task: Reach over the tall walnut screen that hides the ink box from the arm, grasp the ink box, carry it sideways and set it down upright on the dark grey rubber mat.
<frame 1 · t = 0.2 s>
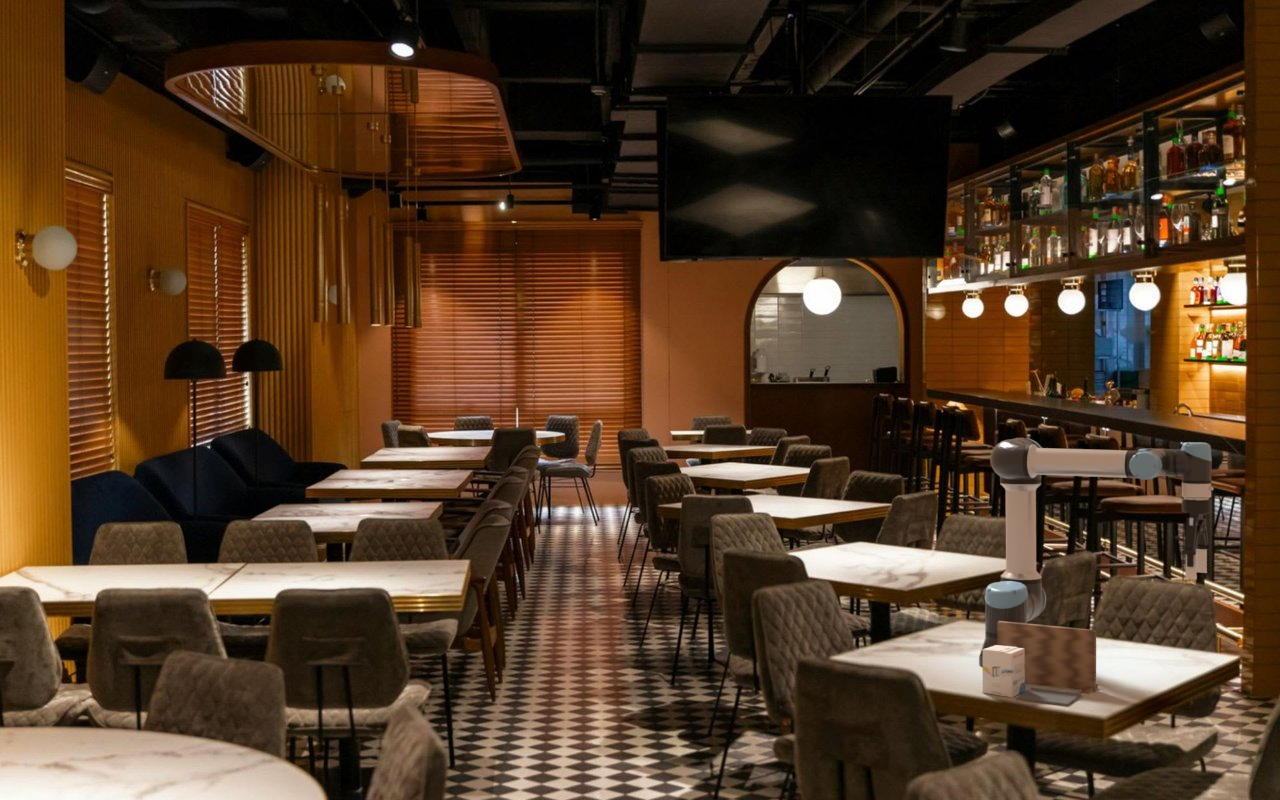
hand: (1196, 575, 379), 28 cm above the table, fingers open, 13 cm apart
walnut screen: (1045, 685, 370), on the table
ink box: (1003, 693, 362), on the table
rubber mat: (1049, 697, 356), on the table
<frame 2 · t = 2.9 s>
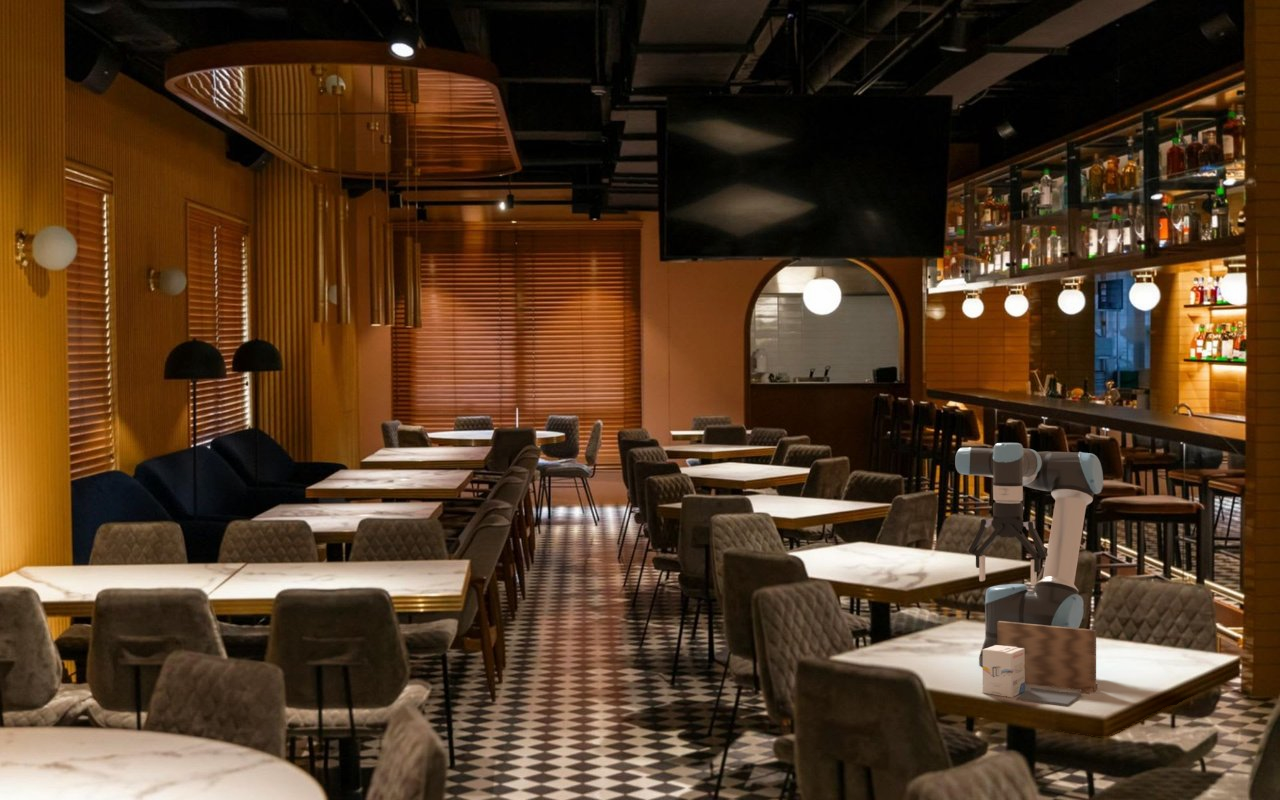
hand: (1007, 582, 362), 29 cm above the table, fingers open, 13 cm apart
nothing on the table moved.
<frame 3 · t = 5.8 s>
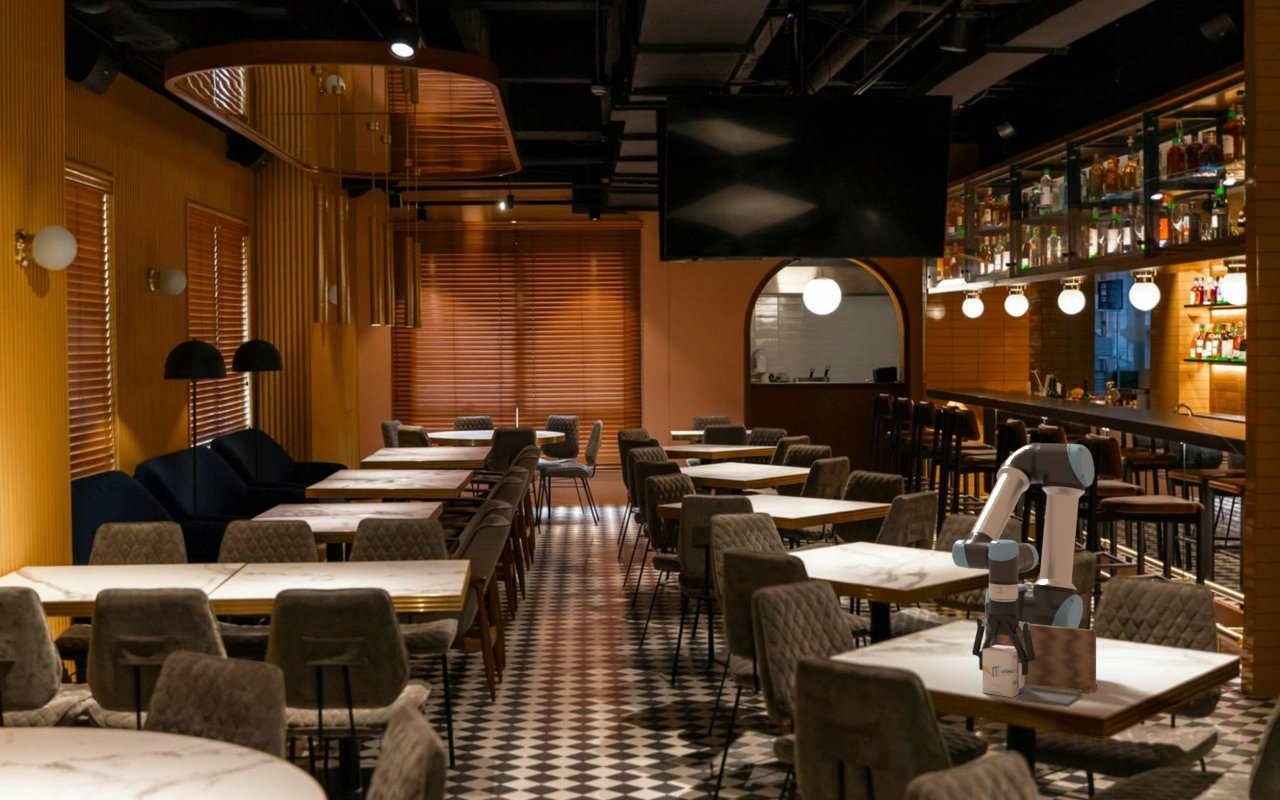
hand: (1003, 684, 362), 2 cm above the table, fingers closed on ink box, 9 cm apart
ink box: (1003, 693, 362), on the table, touching gripper
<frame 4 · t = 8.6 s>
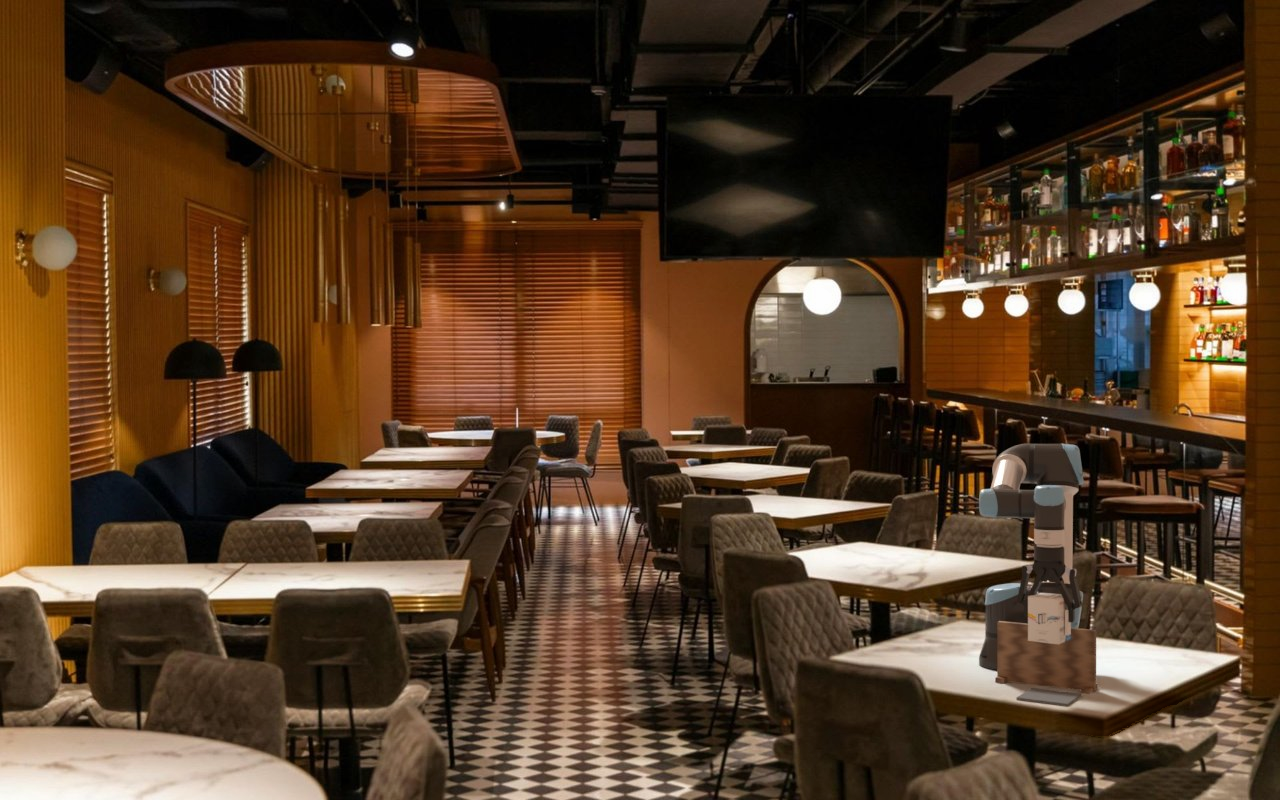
hand: (1049, 632, 355), 17 cm above the table, fingers closed on ink box, 9 cm apart
ink box: (1049, 641, 355), point 15 cm above the table, touching gripper
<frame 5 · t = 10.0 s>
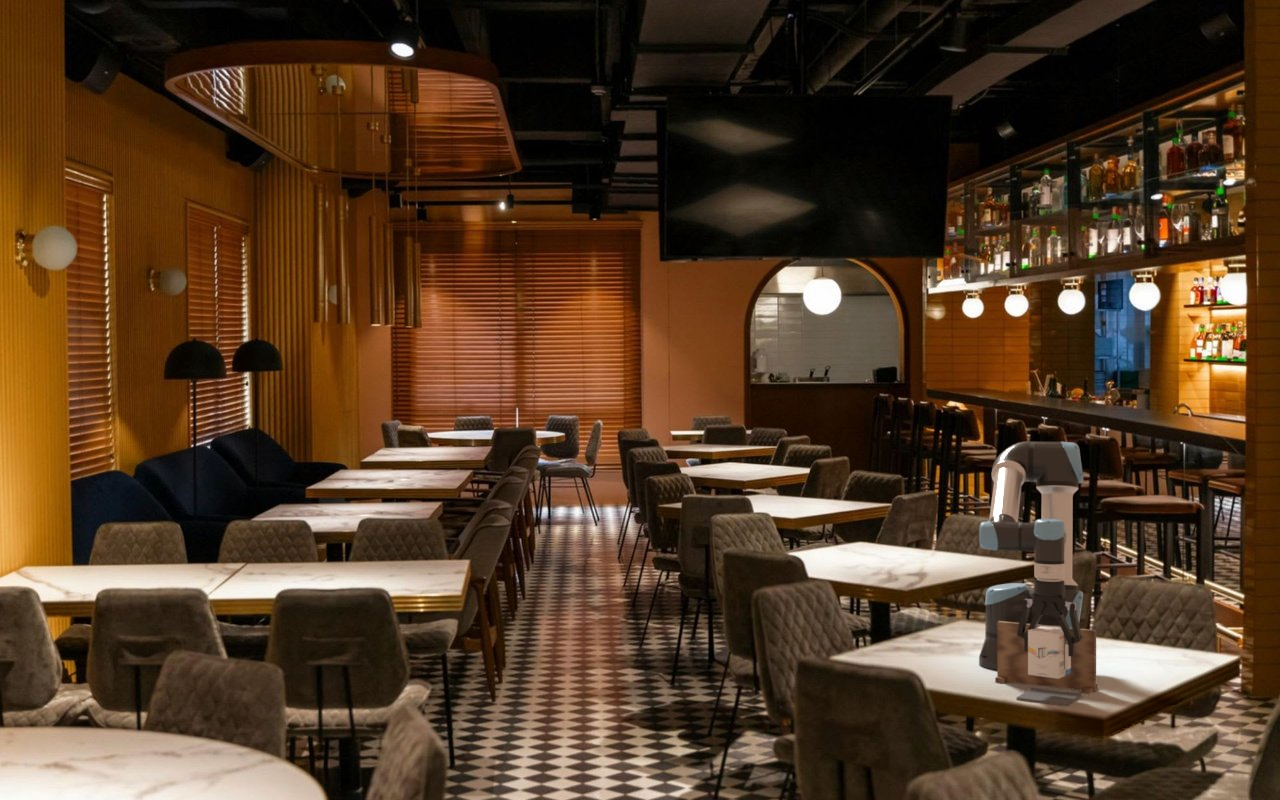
hand: (1049, 666, 355), 8 cm above the table, fingers closed on ink box, 9 cm apart
ink box: (1049, 675, 355), point 6 cm above the table, touching gripper
when the fingers open (4 cm above the table, at t = 11.3 s): ink box drops 1 cm, resting on rubber mat.
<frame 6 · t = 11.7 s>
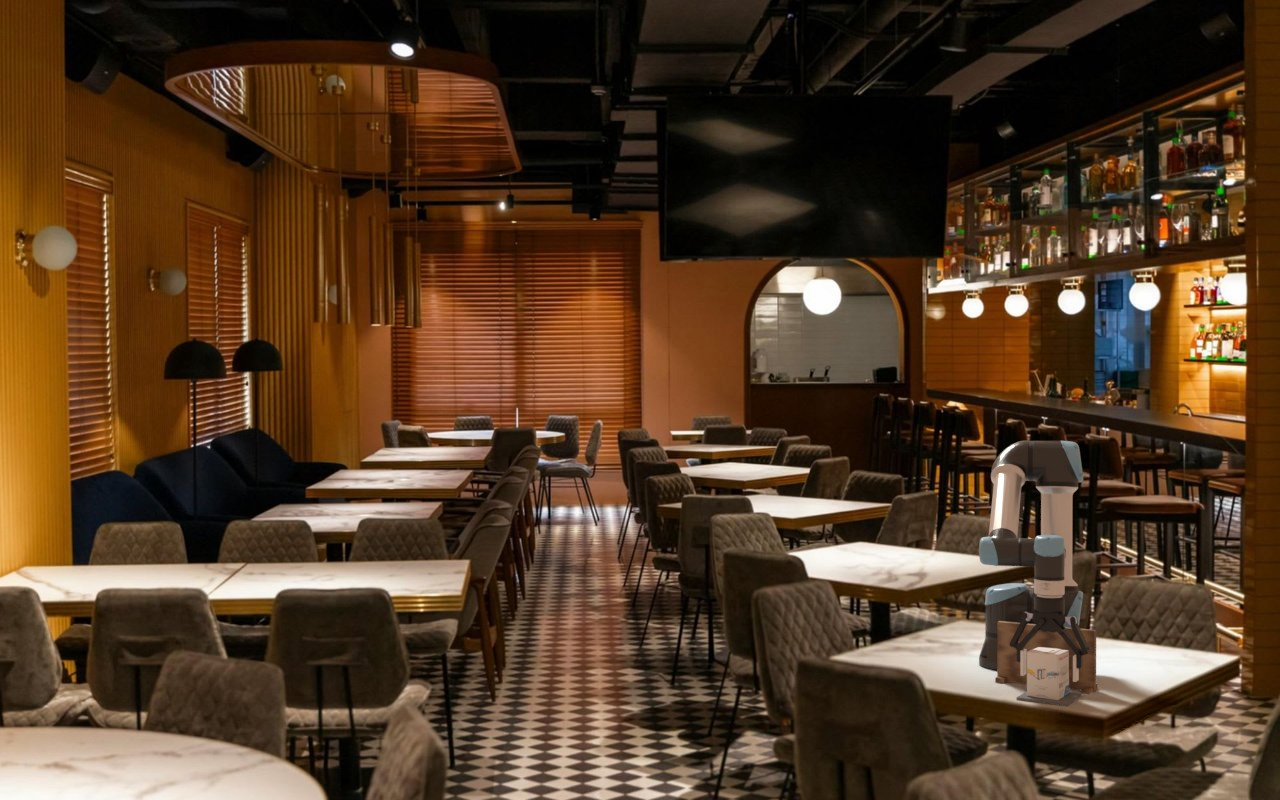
hand: (1049, 677, 356), 5 cm above the table, fingers open, 13 cm apart
ink box: (1047, 696, 356), resting on rubber mat
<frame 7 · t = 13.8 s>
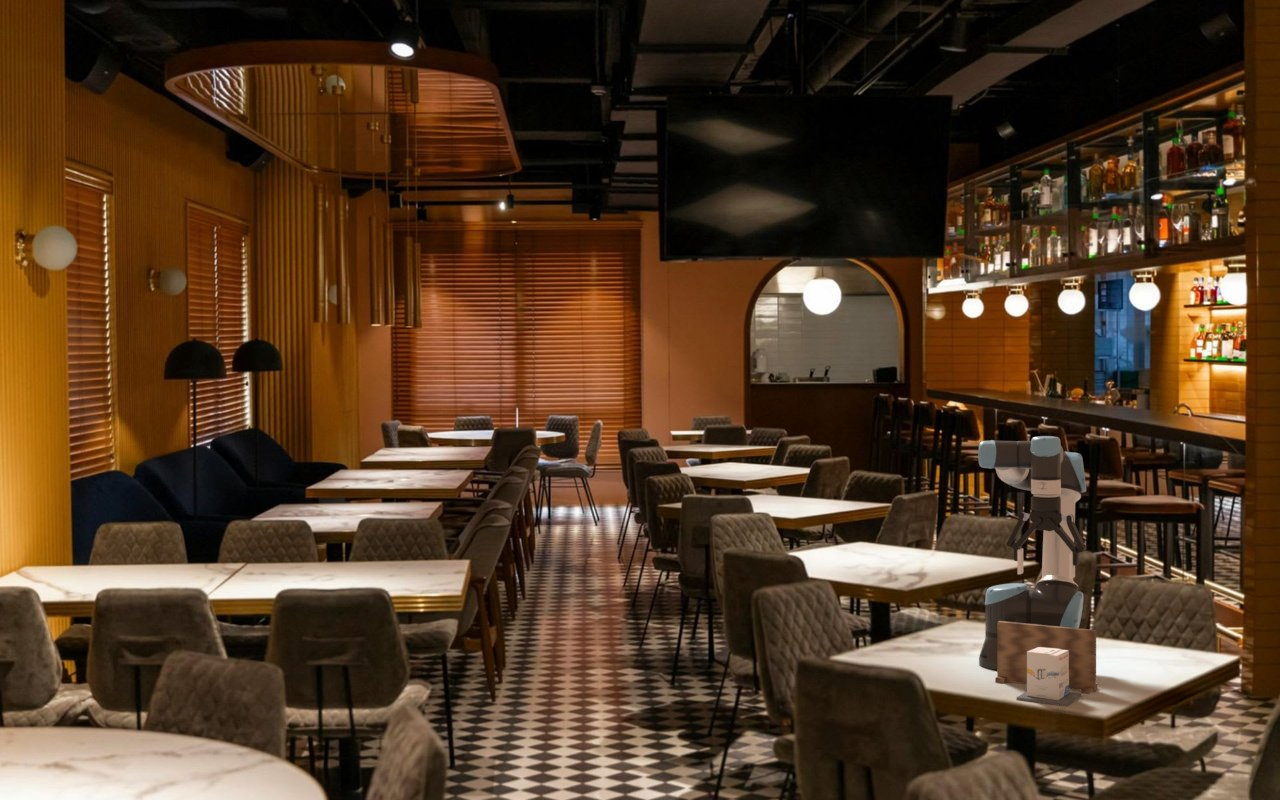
hand: (1046, 575, 363), 31 cm above the table, fingers open, 13 cm apart
nothing on the table moved.
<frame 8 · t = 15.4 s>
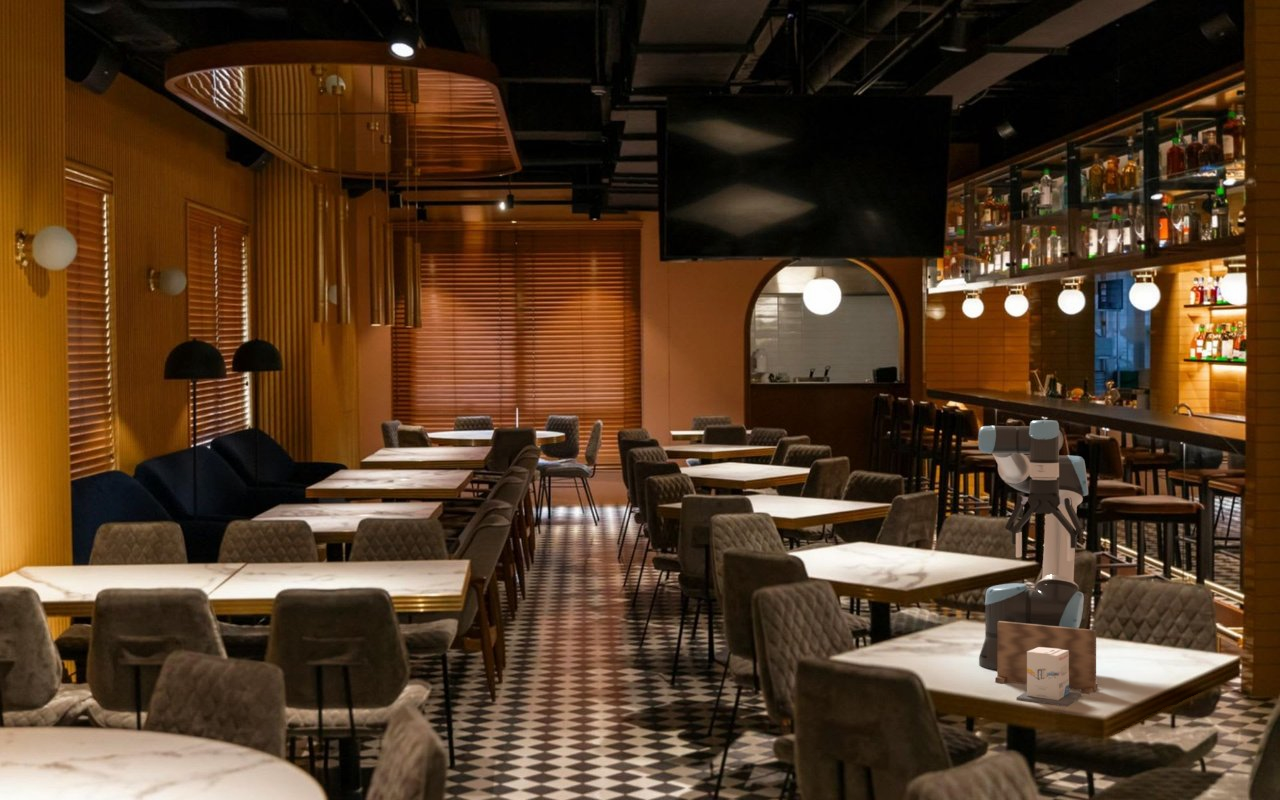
hand: (1044, 558, 365), 35 cm above the table, fingers open, 13 cm apart
nothing on the table moved.
at the end: ink box inside the target area on the rubber mat (0.4 cm from its centre), point 0.4 cm above the rubber mat's base; ink box tilted 0°; the gripper is holding nothing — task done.
